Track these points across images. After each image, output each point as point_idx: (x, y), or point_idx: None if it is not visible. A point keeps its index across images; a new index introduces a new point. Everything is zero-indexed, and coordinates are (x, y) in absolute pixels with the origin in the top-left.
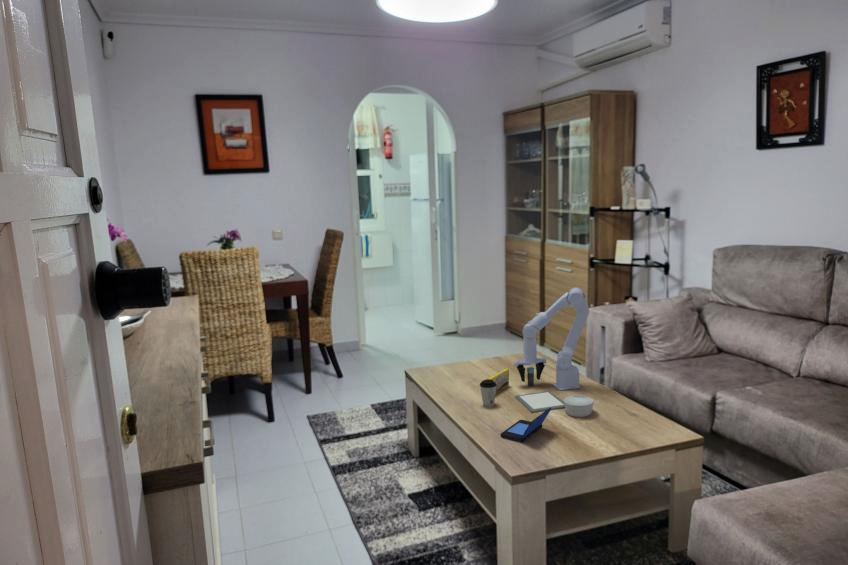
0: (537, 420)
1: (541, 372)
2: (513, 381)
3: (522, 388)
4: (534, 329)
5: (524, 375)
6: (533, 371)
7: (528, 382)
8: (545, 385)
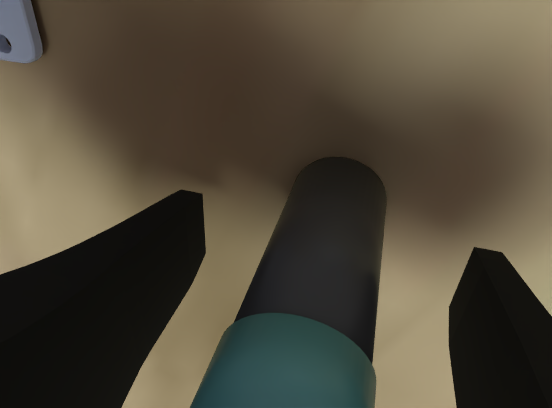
0: None
1: (66, 251)
2: (448, 387)
3: (548, 157)
4: None
5: (525, 342)
6: (235, 349)
7: (381, 226)
8: (148, 92)
